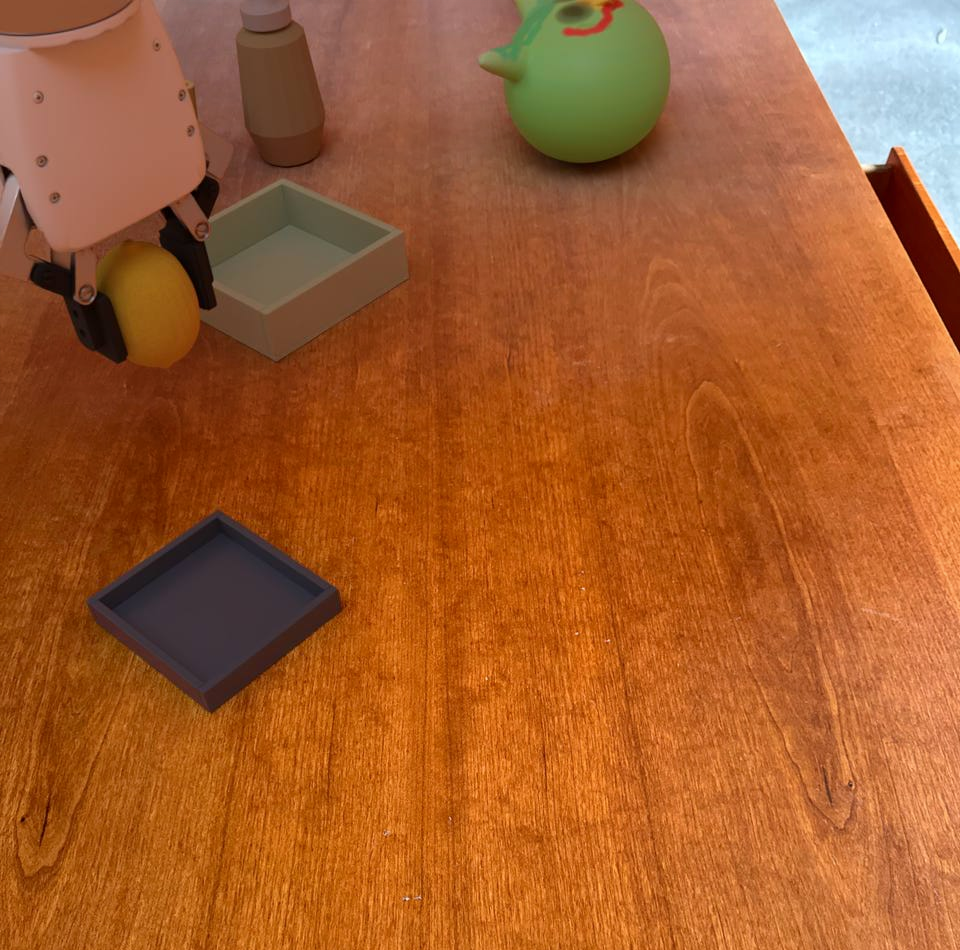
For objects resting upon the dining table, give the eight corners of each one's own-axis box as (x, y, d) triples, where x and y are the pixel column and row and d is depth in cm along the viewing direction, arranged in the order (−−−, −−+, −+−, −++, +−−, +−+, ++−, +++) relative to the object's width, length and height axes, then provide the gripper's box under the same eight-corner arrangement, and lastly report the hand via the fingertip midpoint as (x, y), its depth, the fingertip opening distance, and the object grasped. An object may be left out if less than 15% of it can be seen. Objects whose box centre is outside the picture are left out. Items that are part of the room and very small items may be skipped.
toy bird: (660, 195, 110) (670, 31, 99) (482, 191, 113) (473, 30, 102) (670, 107, 122) (680, -49, 111) (508, 105, 124) (503, -48, 113)
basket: (159, 297, 104) (145, 251, 100) (291, 223, 111) (282, 177, 107) (276, 362, 96) (265, 314, 93) (409, 277, 103) (404, 230, 100)
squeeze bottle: (280, 182, 116) (241, -15, 103) (236, 154, 120) (195, -38, 107) (346, 153, 119) (318, -41, 106) (302, 127, 124) (269, -63, 110)
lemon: (232, 353, 69) (200, 227, 63) (171, 406, 66) (132, 279, 60) (160, 329, 71) (123, 205, 65) (97, 380, 68) (52, 255, 62)
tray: (94, 620, 78) (85, 600, 77) (224, 529, 83) (218, 508, 82) (211, 714, 72) (203, 693, 71) (343, 609, 77) (338, 588, 76)
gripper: (148, -92, 59) (226, 240, 72) (-170, 27, 51) (-15, 375, 64) (247, -62, 55) (309, 281, 69) (-78, 70, 47) (65, 429, 61)
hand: (152, 323), depth 66 cm, fingers closed on lemon, 5 cm apart
